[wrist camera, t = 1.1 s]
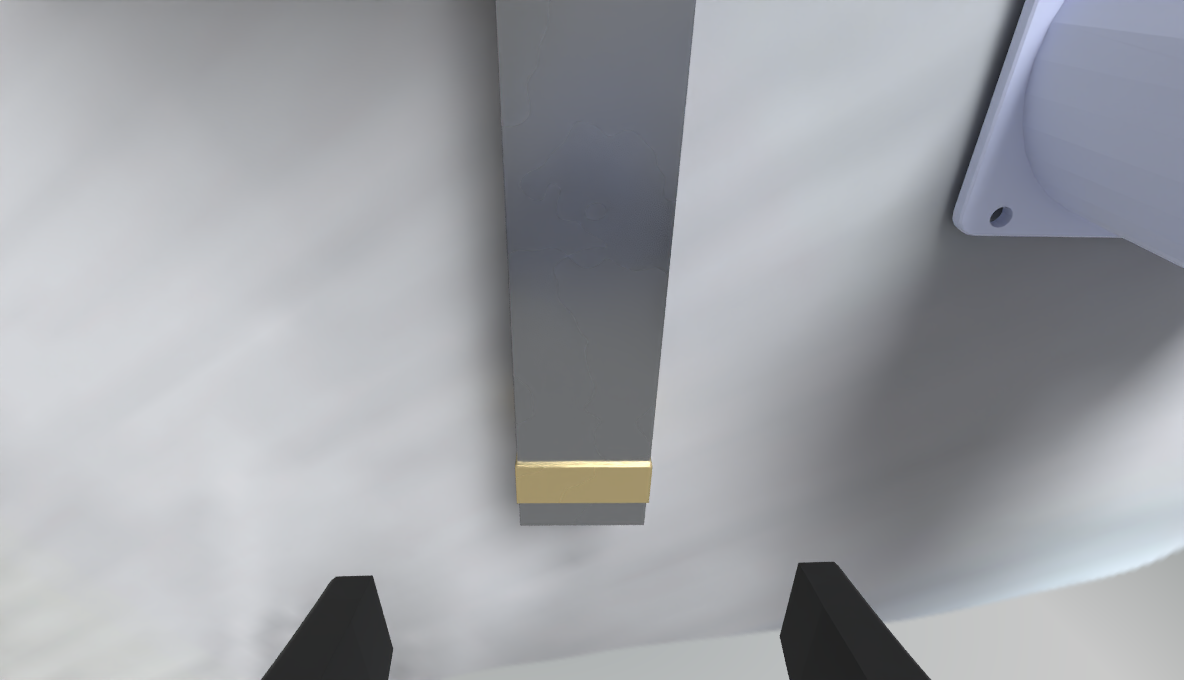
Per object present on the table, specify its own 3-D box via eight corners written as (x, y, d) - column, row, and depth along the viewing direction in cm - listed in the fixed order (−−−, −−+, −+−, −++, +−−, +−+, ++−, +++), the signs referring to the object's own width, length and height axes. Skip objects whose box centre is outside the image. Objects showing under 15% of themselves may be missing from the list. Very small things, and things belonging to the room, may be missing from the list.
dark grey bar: (691, -272, 11) (737, -361, 8) (634, 439, 19) (646, 527, 16) (499, -282, 11) (472, -375, 8) (526, 439, 19) (518, 528, 16)
